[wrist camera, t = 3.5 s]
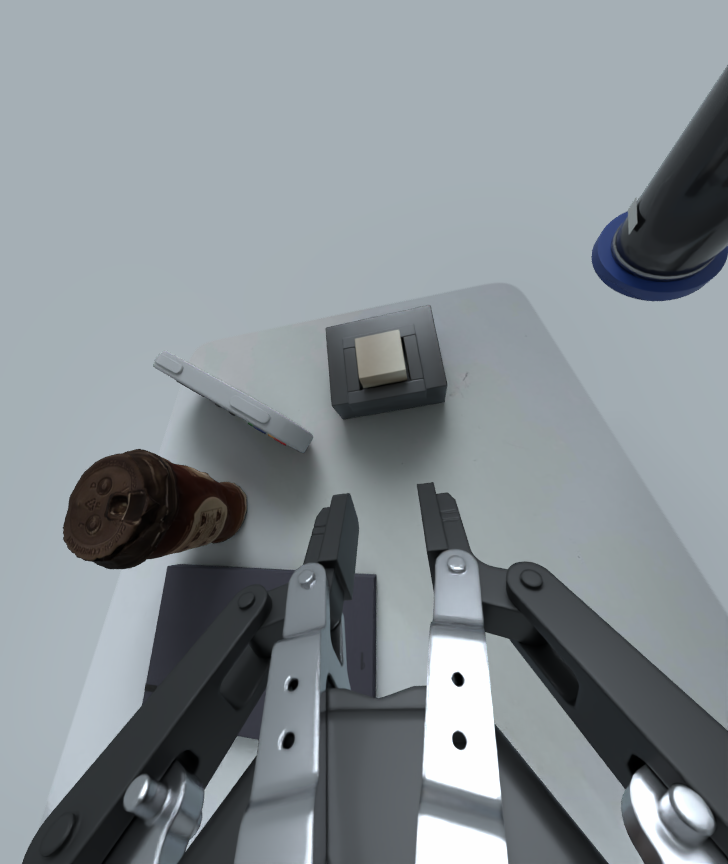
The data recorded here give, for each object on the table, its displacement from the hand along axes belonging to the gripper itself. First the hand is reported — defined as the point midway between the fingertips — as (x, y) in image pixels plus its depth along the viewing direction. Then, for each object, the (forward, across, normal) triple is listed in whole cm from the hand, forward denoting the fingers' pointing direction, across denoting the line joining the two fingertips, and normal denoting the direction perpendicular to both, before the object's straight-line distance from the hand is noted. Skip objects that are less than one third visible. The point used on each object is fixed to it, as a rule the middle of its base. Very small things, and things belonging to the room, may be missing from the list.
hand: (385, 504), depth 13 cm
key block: (+22, 0, +1) cm, 22 cm away
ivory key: (+17, 0, -2) cm, 17 cm away
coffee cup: (+13, +20, +10) cm, 26 cm away
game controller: (+21, +16, +2) cm, 27 cm away
